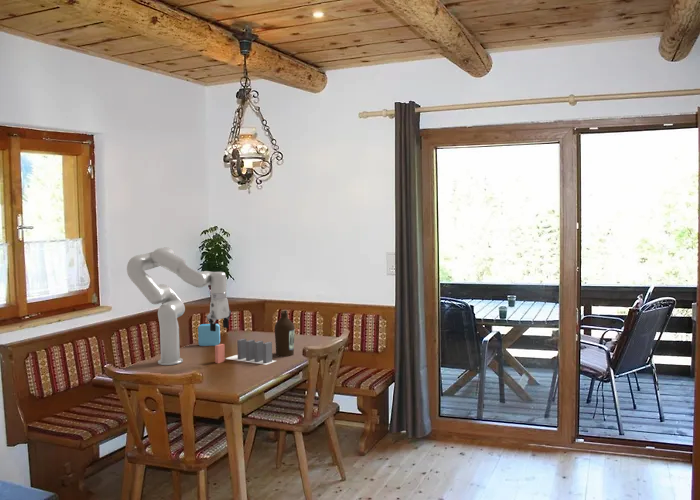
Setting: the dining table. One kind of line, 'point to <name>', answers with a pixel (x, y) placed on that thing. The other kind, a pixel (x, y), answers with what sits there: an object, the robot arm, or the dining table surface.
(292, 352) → the olive oil
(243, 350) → the domino
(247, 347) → the domino
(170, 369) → the dining table surface
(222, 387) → the dining table surface
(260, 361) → the board
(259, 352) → the domino
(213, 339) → the light blue square slab
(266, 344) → the domino
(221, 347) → the red domino
